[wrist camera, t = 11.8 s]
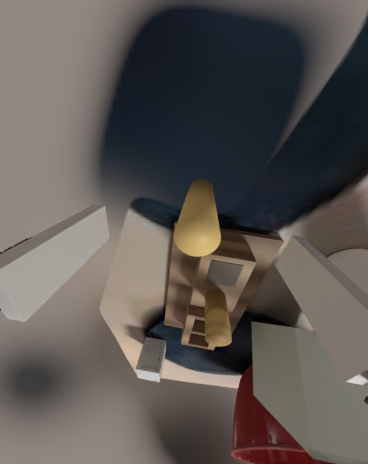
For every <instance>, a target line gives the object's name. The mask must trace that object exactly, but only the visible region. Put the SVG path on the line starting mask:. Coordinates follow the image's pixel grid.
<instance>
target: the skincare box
mask: <svg viewBox="0 0 368 464" xmlns="http://www.w3.org/2000/svg"><path fill="white" fill-rule="evenodd" d="M165 352H166V341H165V340H159V339H153V338H149V337H146V338H145V341H144V344H143V347H142V350H141V354H140V357H139V360H138V364H137V367H136V373H137V377H138V378H142V379H146V380H151V381H156V382H159V381H160V377H161V372H162V367H163V362H164V357H165Z"/></svg>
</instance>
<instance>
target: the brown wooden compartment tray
mask: <svg viewBox="0 0 368 464" xmlns="http://www.w3.org/2000/svg"><path fill="white" fill-rule="evenodd" d="M177 222H178V221H177V220H176V221H175V223H174V231H175V228H176V225H177ZM219 228H220V227H219ZM220 233H221V241H220V244H219V246H218V247H217V249H216V250H215V251H214V252H212V253H211V254H208V255H206V256H200V257H195V256H190V255H187V254H185V253H184V252H182V251H181V250H180V249H179V248H178V247H177V246H176V244H175V241H174V233H173V243H172V253H171V263H170V273H169V283H168V293H167V302H166V312H165V322H164V325H168V326H173V327H179V328H183V331H182V340H181V344H183V345H188V346H193V347H198V348H203V349H208V350H214V348H215V346H227V345H229V344H230V343H231V342H232V337H231V335H232V333H233V331H234V329H235V327H236V326H237V324H238V322H239V320H240V318H241V317H242V315H243V313H244V311H245V310H246V308H247V306H248V304H249V302H250V301H251V299H252V297H253V295H254V293H255V292H256V290H257V288H258V286H259V284H260V283H261V281H262V279H263V277H264V276H265V274H266V272H267V270H268V268H269V267H270V265H271V263H272V261H273V259H274V258H275V256H276V254H277V252H278V250H279V249H280V247H281V245H282V243H283V242H284V241H283V240H282V238H281V237H275V236H269V235H263V234H257V233H250V232H244V231H238V230H232V229H226V228H220Z"/></svg>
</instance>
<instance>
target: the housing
mask: <svg viewBox="0 0 368 464" xmlns="http://www.w3.org/2000/svg"><path fill="white" fill-rule="evenodd" d="M251 323H252V359H253V395H254V396H255V397H256V398H257V399H258V400H259V401H260V402H261V404H262V405H263V406H264V407H265V408H266V409H267V410H268V411H269V412H270V413H271V414H272V415H273V416H274V417H275V418H276V420H277V421H278V422H279V423H280V424H281V425H282V426H283V427H284V428H285V429H286V430H287V431H288V432H289V433H290V434H291V435H292V437H293V438H294V439H295V440H296V441H297V442H298V443H299V444H300V445H301V446H302V447H303V448H304V449H305V450H306V451H307V453H308V454H309V455H310V456H311V457H312V458H313V459H317V460H321V461H326V462H330V463H335V464H368V404H366V403H365V402H364V400H365V397H367V396H368V385H366V386H365V385H360V384H355V383H349V382H345V380H344V379H343V377H342V375H341V374H340V372H339V370H338V369H337V367H336V365H335V364H334V362H333V360H332V359H331V357H330V356H329V354H328V352H327V351H326V349H325V347H324V346H323V344H322V342H321V341H320V339H319V337H318V336H317V334H316V332H314V331H309V330H304V329H299V328H293V327H287V326H280V325H273V324H266V323H259V322H252V321H251Z"/></svg>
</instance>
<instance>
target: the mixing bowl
mask: <svg viewBox="0 0 368 464" xmlns="http://www.w3.org/2000/svg"><path fill="white" fill-rule="evenodd" d="M231 454H232V456H233V457H234V458H236V459H238V460H241V461H244V462H247V463H251V464H335V463H330V462H326V461H321V460H317V459H313V458H312V457H311V456H310V455H309V454H308V453H307V451H306V450H305V449H304V448H303V447H302V446H301V445H300V444H299V443H298V442H297V441H296V440H295V439H294V438H293V437H292V435H291V434H290V433H289V432H288V431H287V430H286V429H285V428H284V427H283V426H282V425H281V424H280V423H279V422H278V421H277V420H276V418H275V417H274V416H273V415H272V414H271V413H270V412H269V411H268V410H267V409H266V408H265V407H264V406H263V405H262V404H261V402H260V401H259V400H258V399H257V398H256V397H255V396H254V395H253V364H252V365H250V366H249V368H248V369H247V370H246V371H245V372H244V374H243V375H242V377H241V380H240V383H239V387H238V392H237V398H236V404H235V412H234V425H233V450H232V452H231Z"/></svg>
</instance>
